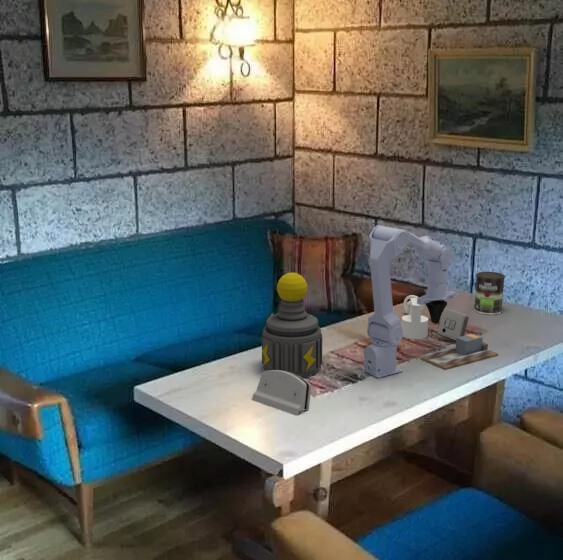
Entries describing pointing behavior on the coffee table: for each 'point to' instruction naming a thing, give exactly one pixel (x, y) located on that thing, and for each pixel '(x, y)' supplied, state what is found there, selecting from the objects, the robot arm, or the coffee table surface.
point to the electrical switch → (452, 324)
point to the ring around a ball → (409, 303)
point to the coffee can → (489, 293)
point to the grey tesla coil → (292, 332)
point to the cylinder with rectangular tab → (415, 322)
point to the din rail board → (456, 357)
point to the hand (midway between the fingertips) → (435, 322)
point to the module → (468, 344)
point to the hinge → (283, 391)
